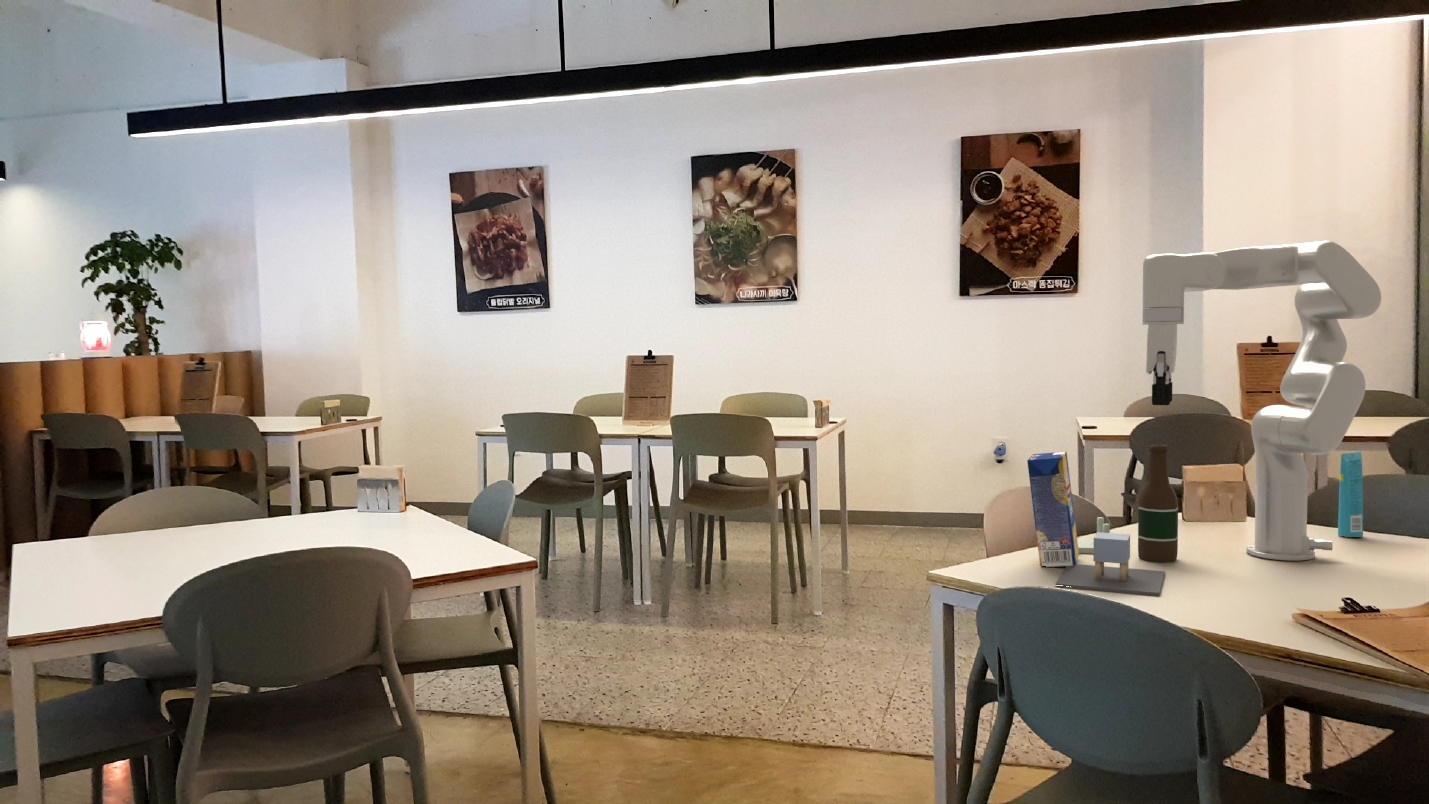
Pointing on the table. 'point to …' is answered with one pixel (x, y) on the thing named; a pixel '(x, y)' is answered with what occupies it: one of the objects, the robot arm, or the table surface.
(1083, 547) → the mint twin-peg base
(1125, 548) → the slate-blue stool
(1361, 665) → the table surface
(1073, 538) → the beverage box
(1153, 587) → the charcoal mat
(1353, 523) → the teal carton
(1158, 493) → the beer bottle
